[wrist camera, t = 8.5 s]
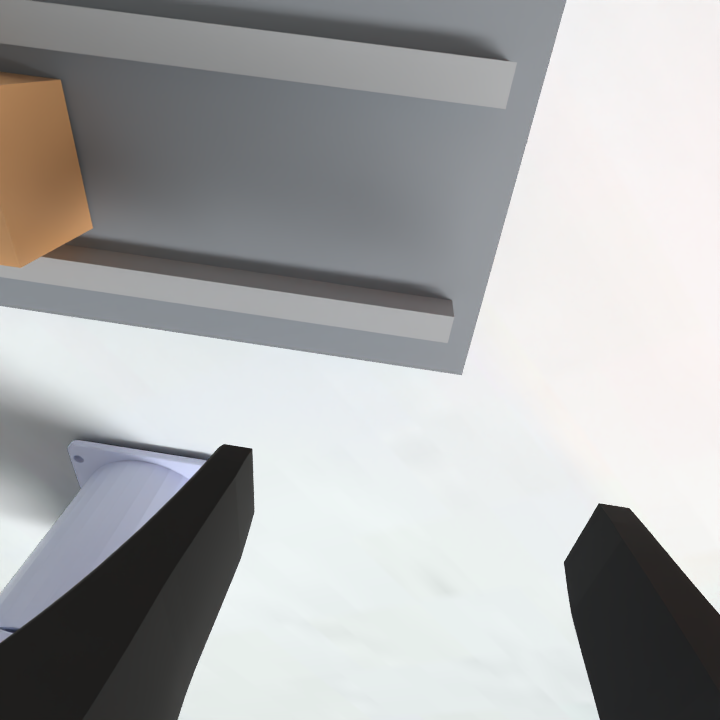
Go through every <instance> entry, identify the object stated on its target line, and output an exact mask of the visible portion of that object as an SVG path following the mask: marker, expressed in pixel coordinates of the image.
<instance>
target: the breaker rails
mask: <svg viewBox="0 0 720 720" xmlns="http://www.w3.org/2000/svg"><path fill="white" fill-rule="evenodd" d="M565 3H566V0H0V72H7V73H15V74H22V75H30V76H37V77H45V78H52V79H60V80H61V83H62V88H63V92H64V97H65V102H66V106H67V111H68V116H69V120H70V125H71V129H72V134H73V139H74V143H75V148H76V152H77V157H78V162H79V166H80V171H81V175H82V180H83V185H84V189H85V194H86V198H87V203H88V208H89V212H90V217H91V221H92V226H93V228H92V229H91V230H89V231H87V232H85V233H83V234H82V235H80V236H78V237H76V238H74V239H72V240H71V241H69V242H67V243H65V244H63V245H62V246H60V247H58V248H56V249H54V250H52V251H51V252H49V253H47V254H45V255H43V256H41V257H40V258H38V259H36V260H34V261H32V262H31V263H29V264H27V265H25V266H23V267H21V268H18V267H11V266H4V265H0V306H5V307H12V308H18V309H25V310H32V311H38V312H45V313H52V314H58V315H65V316H72V317H78V318H85V319H92V320H98V321H105V322H112V323H118V324H125V325H132V326H138V327H145V328H152V329H158V330H165V331H172V332H178V333H185V334H192V335H198V336H205V337H212V338H218V339H225V340H232V341H238V342H245V343H252V344H258V345H265V346H272V347H278V348H285V349H292V350H298V351H305V352H312V353H318V354H325V355H332V356H338V357H345V358H352V359H358V360H365V361H372V362H378V363H385V364H392V365H398V366H405V367H412V368H418V369H425V370H432V371H438V372H445V373H452V374H458V375H462V372H463V368H464V365H465V361H466V358H467V354H468V350H469V347H470V343H471V340H472V336H473V333H474V329H475V325H476V322H477V318H478V315H479V311H480V307H481V304H482V300H483V297H484V293H485V290H486V286H487V282H488V279H489V275H490V272H491V268H492V264H493V261H494V257H495V254H496V250H497V247H498V243H499V239H500V236H501V232H502V229H503V225H504V222H505V218H506V214H507V211H508V207H509V204H510V200H511V196H512V193H513V189H514V186H515V182H516V179H517V175H518V171H519V168H520V164H521V161H522V157H523V154H524V150H525V146H526V143H527V139H528V136H529V132H530V128H531V125H532V121H533V118H534V114H535V111H536V107H537V103H538V100H539V96H540V93H541V89H542V85H543V82H544V78H545V75H546V71H547V68H548V64H549V60H550V57H551V53H552V50H553V46H554V43H555V39H556V35H557V32H558V28H559V25H560V21H561V17H562V14H563V10H564V7H565Z"/></svg>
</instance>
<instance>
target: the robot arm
mask: <svg viewBox="0 0 720 720" xmlns="http://www.w3.org/2000/svg"><path fill="white" fill-rule="evenodd" d="M67 450H68V453H69V456H70V459H71V462H72V465H73V468H74V471H75V474H76V477H77V480H78V483H79V485H80V488H81V490H80V491H79V492H78V494H77V495H76V496H75V497H74V499H73V500H72V501H71V503H70V504H69V505H68V506H67V508H66V509H65V510H64V512H63V513H62V514H61V516H60V517H59V518H58V519H57V521H56V522H55V523H54V525H53V526H52V527H51V528H50V530H49V531H48V532H47V534H46V535H45V536H44V537H43V539H42V540H41V541H40V543H39V544H38V545H37V547H36V548H35V549H34V550H33V552H32V553H31V554H30V556H29V557H28V558H27V559H26V561H25V562H24V563H23V565H22V566H21V567H20V569H19V570H18V571H17V572H16V574H15V575H14V576H13V578H12V579H11V580H10V581H9V583H8V584H7V585H6V587H5V588H4V589H3V590H2V592H1V593H0V720H178V717H179V713H180V710H181V707H182V704H183V701H184V698H185V695H186V692H187V689H188V687H189V684H190V681H191V679H192V676H193V673H194V671H195V668H196V666H197V663H198V661H199V658H200V656H201V654H202V651H203V649H204V646H205V644H206V642H207V639H208V637H209V634H210V632H211V630H212V627H213V625H214V622H215V620H216V618H217V615H218V613H219V610H220V608H221V605H222V603H223V601H224V598H225V596H226V593H227V591H228V589H229V586H230V584H231V581H232V579H233V576H234V574H235V571H236V569H237V566H238V564H239V562H240V559H241V556H242V553H243V549H244V546H245V543H246V539H247V536H248V532H249V529H250V525H251V522H252V518H253V515H254V485H253V455H252V449H251V448H245V447H238V446H232V445H226V444H223V445H222V446H220V447H219V448H218V449H217V450H216V451H215V452H214V453H213V455H212V456H211V457H210V458H209V459H208V460H201V459H195V458H188V457H182V456H176V455H170V454H163V453H157V452H151V451H144V450H138V449H132V448H126V447H119V446H113V445H107V444H100V443H94V442H88V441H82V440H74V441H72V442H71V443H70V444H69V445H68V447H67ZM564 566H565V574H566V582H567V589H568V596H569V602H570V608H571V614H572V618H573V622H574V626H575V630H576V633H577V637H578V641H579V645H580V648H581V652H582V656H583V660H584V663H585V667H586V670H587V674H588V678H589V681H590V685H591V689H592V692H593V696H594V700H595V703H596V707H597V710H598V714H599V718H600V720H720V614H719V613H718V612H717V611H716V610H715V609H714V608H713V606H712V605H711V604H710V603H709V602H708V601H707V599H706V598H705V597H704V596H703V595H702V594H701V592H700V591H699V590H698V589H697V588H696V587H695V585H694V584H693V583H692V582H691V581H690V580H689V578H688V577H687V576H686V575H685V574H684V572H683V571H682V570H681V569H680V568H679V566H678V565H677V564H676V563H675V562H674V560H673V559H672V558H671V557H670V556H669V554H668V553H667V552H666V551H665V550H664V548H663V547H662V546H661V545H660V544H659V542H658V541H657V540H656V539H655V538H654V536H653V535H652V534H651V533H650V532H649V531H648V529H647V528H646V527H645V526H644V525H643V523H642V522H641V521H640V520H639V519H638V518H637V516H636V515H635V514H634V513H633V512H632V511H631V510H630V509H629V508H625V507H619V506H612V505H606V504H600V503H599V504H598V506H597V508H596V509H595V511H594V513H593V514H592V516H591V518H590V519H589V521H588V523H587V524H586V526H585V528H584V529H583V531H582V533H581V534H580V536H579V538H578V539H577V541H576V543H575V545H574V546H573V548H572V550H571V551H570V553H569V555H568V556H567V558H566V560H565V561H564Z"/></svg>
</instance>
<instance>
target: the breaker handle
mask: <svg viewBox="0 0 720 720" xmlns="http://www.w3.org/2000/svg"><path fill="white" fill-rule="evenodd" d="M92 228H93V226H92V221H91V217H90V212H89V208H88V203H87V198H86V194H85V189H84V185H83V180H82V175H81V171H80V166H79V162H78V157H77V152H76V148H75V143H74V139H73V134H72V129H71V125H70V120H69V116H68V111H67V106H66V102H65V97H64V92H63V88H62V83H61V80H60V79H52V78H45V77H37V76H30V75H22V74H15V73H7V72H0V265H4V266H11V267H18V268H21V267H23V266H25V265H27V264H29V263H31V262H32V261H34V260H36V259H38V258H40V257H41V256H43V255H45V254H47V253H49V252H51V251H52V250H54V249H56V248H58V247H60V246H62V245H63V244H65V243H67V242H69V241H71V240H72V239H74V238H76V237H78V236H80V235H82V234H83V233H85V232H87V231H89V230H91V229H92Z"/></svg>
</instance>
